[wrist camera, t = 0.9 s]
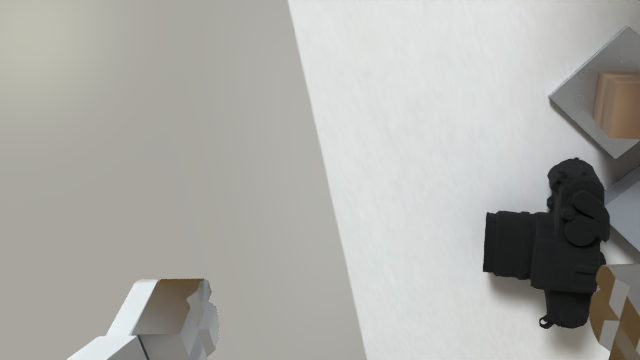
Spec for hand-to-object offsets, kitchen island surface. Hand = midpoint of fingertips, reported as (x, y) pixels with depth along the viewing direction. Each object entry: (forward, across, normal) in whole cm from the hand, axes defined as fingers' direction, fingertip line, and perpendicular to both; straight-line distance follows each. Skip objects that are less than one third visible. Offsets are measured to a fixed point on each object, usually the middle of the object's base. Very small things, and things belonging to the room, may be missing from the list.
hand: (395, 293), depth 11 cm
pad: (+35, -21, +11) cm, 42 cm away
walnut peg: (+34, -21, +11) cm, 41 cm away
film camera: (+34, -15, +24) cm, 44 cm away
